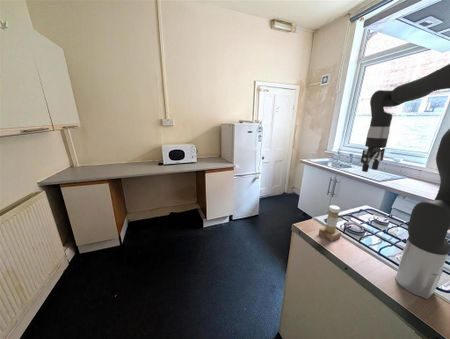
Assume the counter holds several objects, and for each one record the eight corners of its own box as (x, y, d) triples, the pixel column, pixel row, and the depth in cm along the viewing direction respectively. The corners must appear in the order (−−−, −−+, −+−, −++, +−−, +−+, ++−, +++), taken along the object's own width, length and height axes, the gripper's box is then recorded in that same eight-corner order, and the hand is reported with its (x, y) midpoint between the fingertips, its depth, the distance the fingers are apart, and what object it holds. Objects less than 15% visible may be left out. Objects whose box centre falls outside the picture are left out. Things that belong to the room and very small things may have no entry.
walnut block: (340, 237, 91) (341, 232, 90) (331, 241, 88) (332, 236, 87) (327, 230, 97) (328, 225, 96) (318, 233, 94) (319, 228, 93)
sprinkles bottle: (327, 226, 94) (331, 203, 91) (336, 230, 91) (341, 207, 87) (323, 230, 92) (327, 206, 88) (333, 234, 88) (337, 210, 85)
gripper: (378, 138, 76) (370, 174, 80) (395, 136, 81) (386, 170, 86) (359, 136, 82) (352, 170, 86) (376, 135, 88) (369, 167, 92)
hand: (369, 170), depth 86 cm, fingers open, 8 cm apart
